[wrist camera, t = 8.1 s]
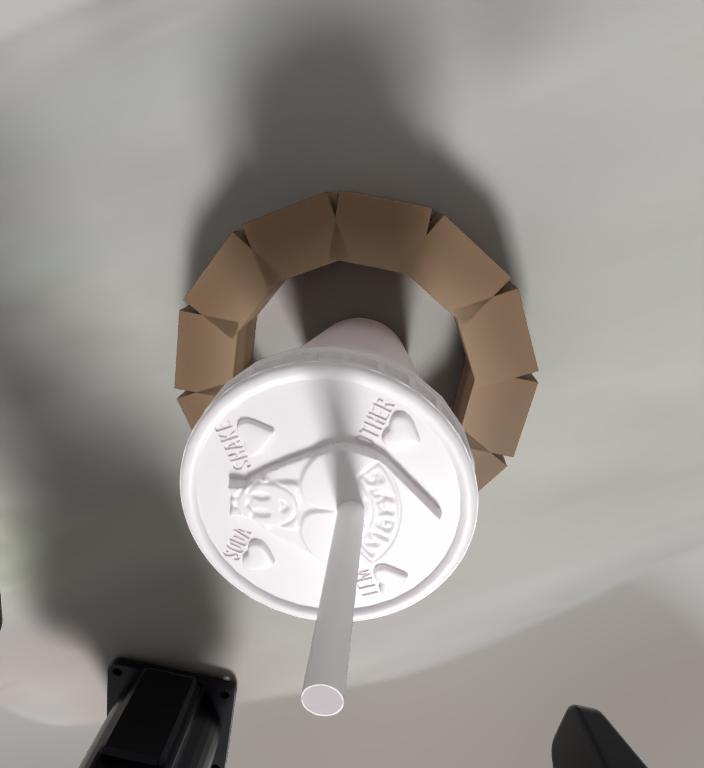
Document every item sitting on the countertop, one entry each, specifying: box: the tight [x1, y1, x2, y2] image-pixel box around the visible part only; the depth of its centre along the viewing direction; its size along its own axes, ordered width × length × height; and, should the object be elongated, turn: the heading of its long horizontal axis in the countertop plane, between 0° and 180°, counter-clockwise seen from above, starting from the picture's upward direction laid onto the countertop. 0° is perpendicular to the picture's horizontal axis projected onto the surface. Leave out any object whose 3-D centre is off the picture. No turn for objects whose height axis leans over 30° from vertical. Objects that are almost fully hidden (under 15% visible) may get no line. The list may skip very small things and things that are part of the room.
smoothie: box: [180, 318, 478, 716], centre depth 13 cm, size 6×6×14 cm
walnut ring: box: [175, 191, 538, 491], centre depth 19 cm, size 12×12×2 cm
